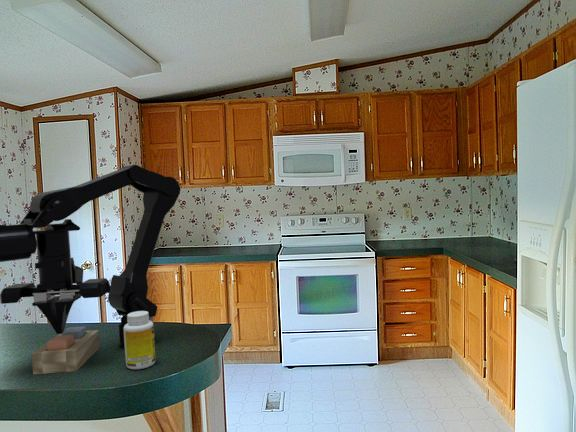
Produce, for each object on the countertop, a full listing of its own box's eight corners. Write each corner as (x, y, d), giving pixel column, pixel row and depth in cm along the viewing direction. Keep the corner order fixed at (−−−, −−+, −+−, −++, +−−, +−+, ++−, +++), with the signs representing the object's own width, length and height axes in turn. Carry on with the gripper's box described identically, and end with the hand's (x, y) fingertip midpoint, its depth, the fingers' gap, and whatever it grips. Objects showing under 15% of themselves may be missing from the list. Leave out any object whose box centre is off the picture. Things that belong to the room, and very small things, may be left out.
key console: (99, 347, 96) (98, 329, 96) (76, 370, 83) (75, 350, 83) (62, 350, 95) (61, 332, 95) (33, 374, 82) (31, 353, 82)
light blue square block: (86, 339, 94) (85, 326, 94) (79, 344, 91) (78, 331, 91) (69, 340, 94) (68, 327, 94) (62, 345, 90) (61, 332, 90)
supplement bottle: (159, 365, 84) (156, 313, 83) (129, 373, 81) (125, 319, 80) (151, 357, 89) (148, 308, 88) (123, 364, 86) (119, 313, 85)
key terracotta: (74, 348, 88) (73, 334, 88) (67, 354, 84) (65, 340, 84) (56, 349, 88) (54, 336, 87) (47, 356, 84) (46, 342, 84)
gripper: (115, 247, 94) (120, 318, 95) (25, 253, 92) (31, 325, 93) (97, 254, 83) (103, 334, 84) (-5, 260, 81) (2, 342, 82)
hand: (60, 333), depth 86 cm, fingers closed
